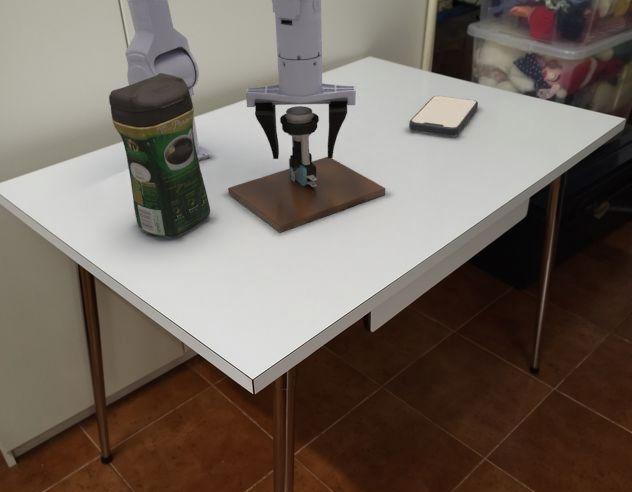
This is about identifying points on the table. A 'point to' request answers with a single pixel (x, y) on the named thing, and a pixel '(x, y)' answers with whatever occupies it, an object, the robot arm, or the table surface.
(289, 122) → the push button
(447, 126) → the phone case
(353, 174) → the walnut board
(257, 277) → the table surface
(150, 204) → the coffee jar
